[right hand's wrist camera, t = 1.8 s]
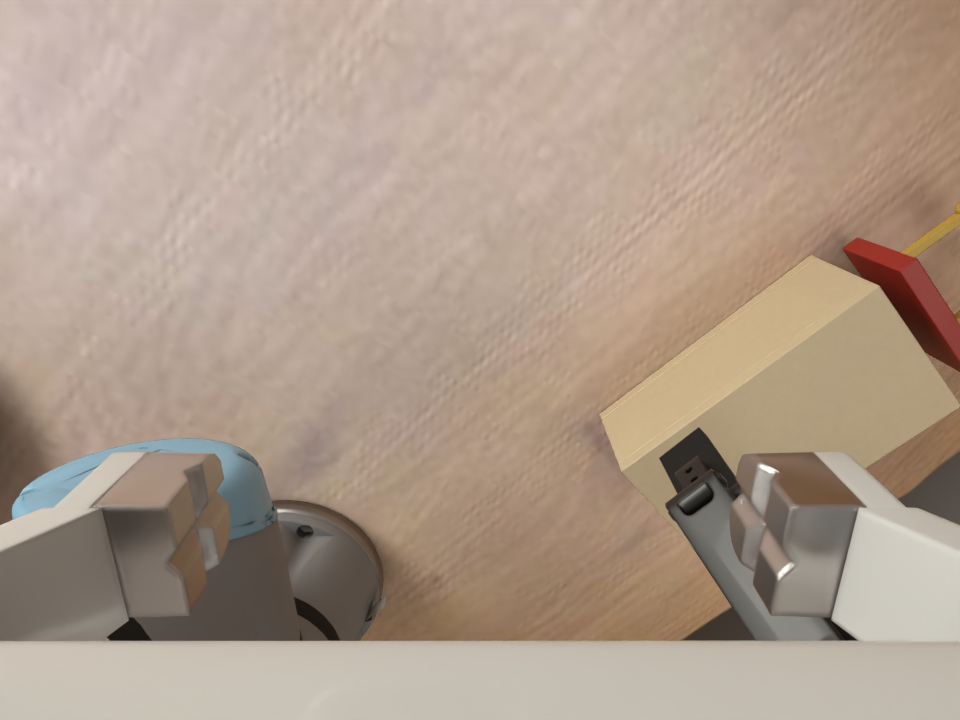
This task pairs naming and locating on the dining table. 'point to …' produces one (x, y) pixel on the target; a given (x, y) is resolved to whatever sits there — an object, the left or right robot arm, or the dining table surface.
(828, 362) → the cabinet
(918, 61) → the dining table surface
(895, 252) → the drawer
